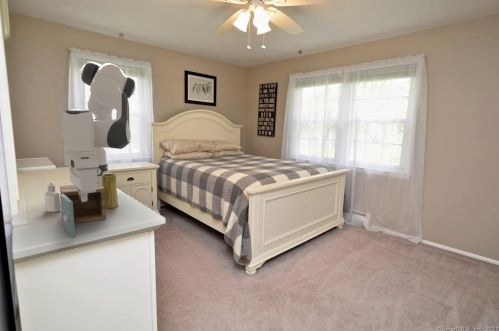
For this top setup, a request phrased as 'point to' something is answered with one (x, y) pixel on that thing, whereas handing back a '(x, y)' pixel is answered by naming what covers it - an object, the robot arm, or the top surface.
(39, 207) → the top surface
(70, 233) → the door
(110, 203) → the vase
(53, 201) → the eye dropper bottle
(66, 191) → the cabinet box
